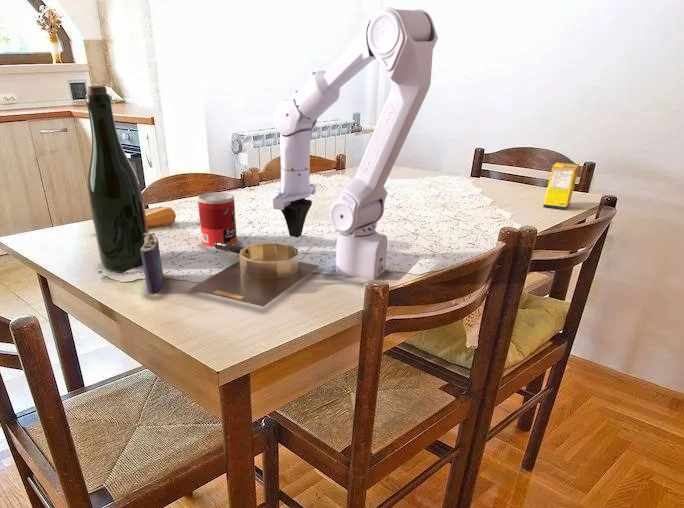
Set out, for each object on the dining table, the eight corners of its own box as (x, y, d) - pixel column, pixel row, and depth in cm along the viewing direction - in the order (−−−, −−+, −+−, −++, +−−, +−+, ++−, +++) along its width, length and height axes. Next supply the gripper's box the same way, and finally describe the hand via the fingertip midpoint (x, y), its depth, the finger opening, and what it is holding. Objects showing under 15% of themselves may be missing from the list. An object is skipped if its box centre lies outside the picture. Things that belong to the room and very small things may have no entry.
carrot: (175, 224, 137) (169, 206, 136) (179, 221, 133) (173, 203, 132) (98, 244, 130) (92, 225, 129) (100, 242, 126) (93, 223, 125)
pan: (307, 264, 107) (308, 248, 105) (279, 284, 99) (279, 266, 97) (231, 250, 115) (230, 234, 113) (199, 267, 107) (197, 250, 105)
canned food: (231, 252, 117) (228, 201, 111) (197, 250, 118) (192, 199, 112) (241, 241, 123) (238, 192, 117) (208, 239, 125) (204, 191, 119)
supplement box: (569, 205, 148) (580, 163, 142) (565, 210, 144) (577, 167, 138) (546, 202, 151) (556, 161, 145) (542, 207, 146) (552, 165, 140)
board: (319, 270, 108) (319, 265, 107) (263, 311, 91) (262, 306, 91) (253, 257, 114) (253, 252, 114) (189, 293, 98) (188, 288, 97)
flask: (151, 279, 104) (142, 225, 98) (166, 279, 104) (159, 224, 98) (147, 299, 96) (137, 241, 90) (163, 298, 96) (155, 240, 91)
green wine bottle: (119, 277, 105) (83, 89, 87) (92, 265, 111) (53, 86, 93) (163, 263, 111) (138, 85, 94) (135, 252, 117) (106, 83, 100)
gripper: (295, 160, 111) (295, 224, 119) (258, 173, 101) (261, 242, 108) (325, 163, 108) (323, 228, 116) (291, 177, 98) (291, 248, 105)
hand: (295, 236), depth 112 cm, fingers closed
